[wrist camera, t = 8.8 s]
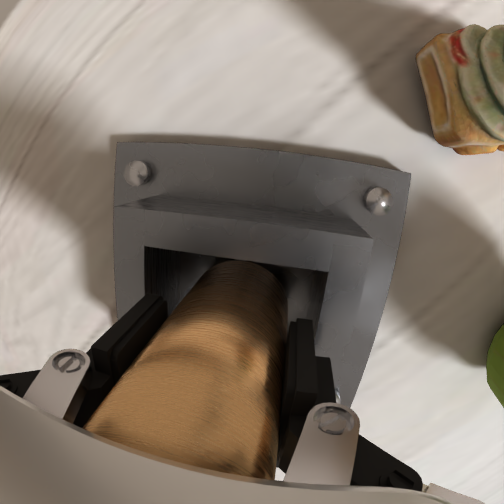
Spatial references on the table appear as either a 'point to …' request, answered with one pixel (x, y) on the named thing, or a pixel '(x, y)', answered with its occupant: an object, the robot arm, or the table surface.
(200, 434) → the copper cylindrical peg
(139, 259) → the flange fitting
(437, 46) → the ornament
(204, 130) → the table surface
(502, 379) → the grenade
